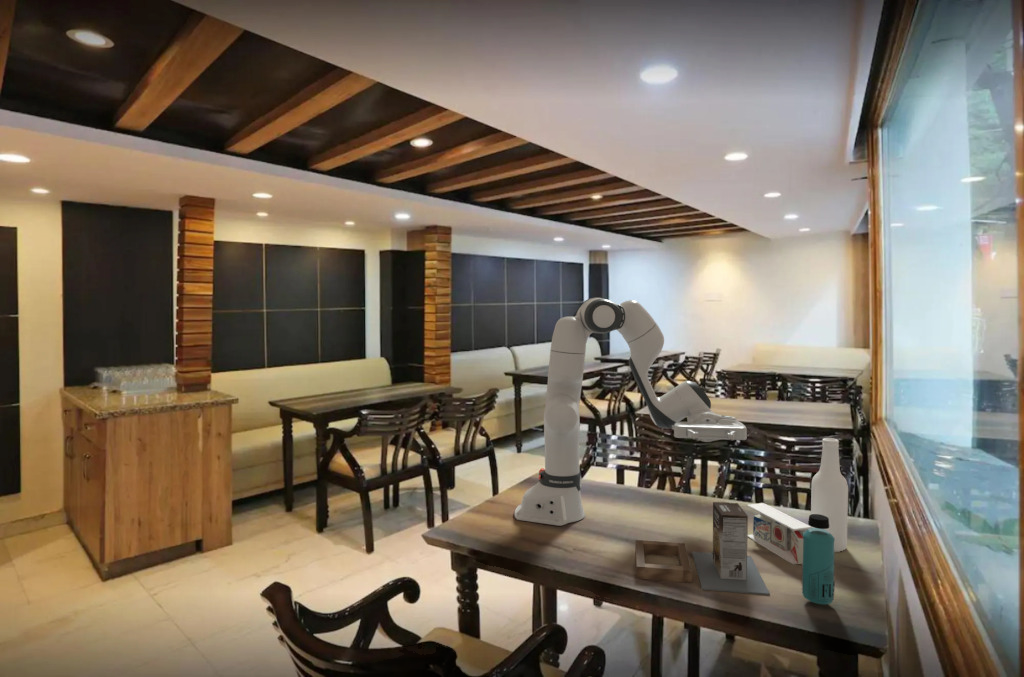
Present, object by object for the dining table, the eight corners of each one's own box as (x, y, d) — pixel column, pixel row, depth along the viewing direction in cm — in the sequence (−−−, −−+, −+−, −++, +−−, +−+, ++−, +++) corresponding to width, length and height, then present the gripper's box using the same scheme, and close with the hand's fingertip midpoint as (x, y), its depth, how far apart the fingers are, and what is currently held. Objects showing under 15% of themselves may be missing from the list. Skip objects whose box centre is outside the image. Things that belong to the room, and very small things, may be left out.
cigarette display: (745, 536, 164) (746, 504, 164) (762, 534, 165) (762, 502, 165) (796, 566, 145) (797, 531, 144) (814, 564, 146) (815, 528, 146)
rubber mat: (702, 589, 133) (702, 587, 133) (691, 553, 153) (691, 551, 153) (769, 595, 131) (769, 593, 130) (750, 557, 150) (750, 555, 150)
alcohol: (812, 550, 154) (814, 441, 152) (808, 537, 162) (810, 434, 160) (849, 555, 151) (852, 444, 149) (843, 542, 159) (846, 437, 157)
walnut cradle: (636, 578, 139) (636, 566, 139) (635, 550, 155) (635, 539, 155) (691, 582, 137) (691, 570, 137) (684, 554, 152) (684, 543, 152)
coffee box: (711, 562, 147) (712, 501, 146) (737, 563, 146) (738, 502, 145) (720, 579, 137) (720, 514, 137) (747, 580, 137) (748, 515, 136)
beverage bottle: (822, 614, 122) (824, 524, 121) (794, 600, 128) (796, 514, 127) (840, 606, 125) (843, 518, 124) (812, 593, 131) (814, 509, 130)
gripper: (670, 415, 174) (674, 424, 161) (741, 417, 170) (751, 426, 157) (670, 435, 175) (674, 446, 161) (740, 437, 171) (751, 449, 157)
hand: (713, 436), depth 159 cm, fingers open, 8 cm apart
